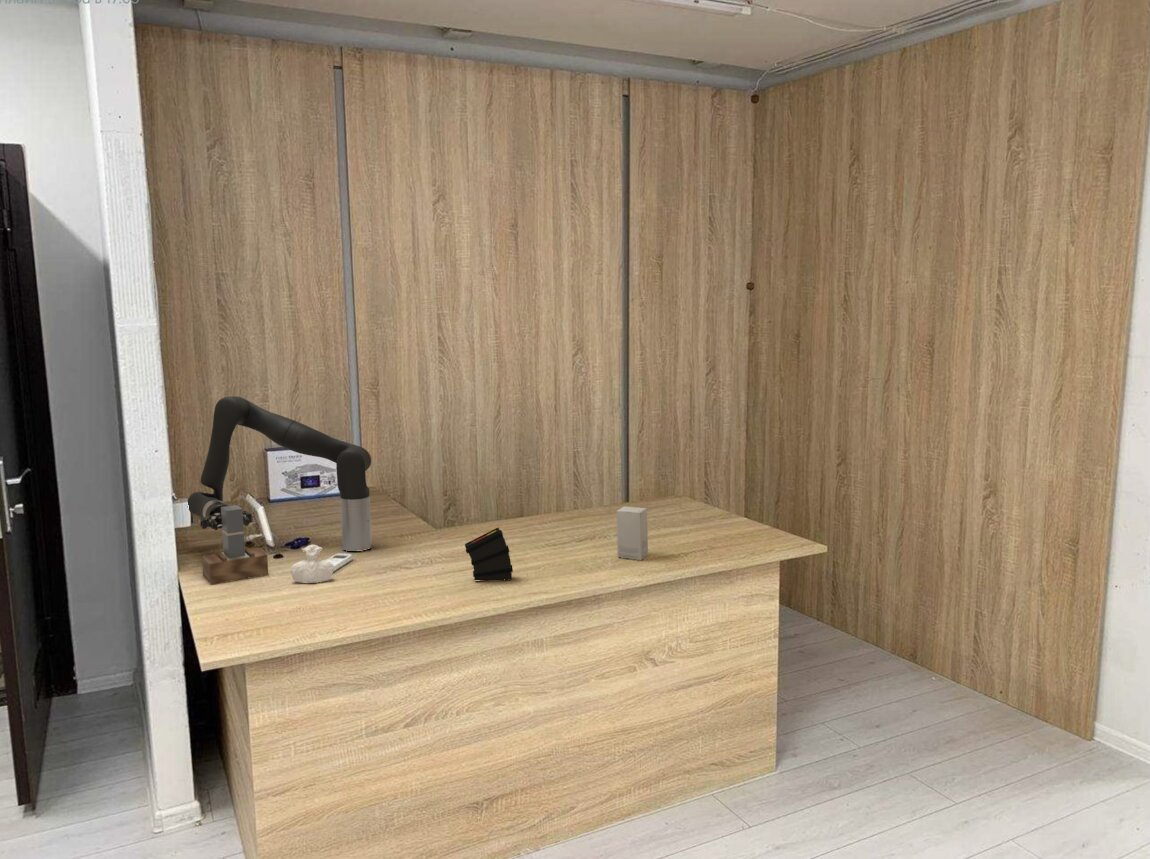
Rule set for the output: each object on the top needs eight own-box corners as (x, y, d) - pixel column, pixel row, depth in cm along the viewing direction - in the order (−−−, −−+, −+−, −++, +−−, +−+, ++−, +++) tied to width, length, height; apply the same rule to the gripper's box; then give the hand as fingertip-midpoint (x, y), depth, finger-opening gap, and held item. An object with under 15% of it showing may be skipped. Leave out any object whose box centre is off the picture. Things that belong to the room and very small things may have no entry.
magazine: (523, 574, 253) (500, 529, 250) (482, 595, 253) (458, 550, 250) (522, 570, 257) (499, 526, 254) (481, 591, 256) (458, 547, 253)
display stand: (258, 566, 267) (257, 544, 266) (268, 574, 259) (267, 551, 258) (203, 575, 258) (201, 552, 257) (210, 584, 250) (209, 560, 249)
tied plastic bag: (334, 586, 255) (335, 550, 260) (332, 577, 248) (333, 540, 254) (291, 589, 253) (293, 552, 258) (288, 579, 246) (290, 542, 252)
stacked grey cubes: (223, 553, 259) (220, 507, 257) (239, 551, 261) (236, 505, 259) (228, 558, 254) (226, 511, 252) (245, 555, 256) (242, 508, 254)
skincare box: (648, 556, 278) (649, 507, 275) (641, 561, 272) (641, 512, 270) (623, 553, 281) (624, 505, 279) (615, 558, 275) (616, 509, 273)
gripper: (192, 504, 266) (205, 515, 253) (241, 498, 274) (256, 508, 261) (194, 529, 267) (206, 540, 254) (242, 522, 275) (257, 533, 262)
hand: (231, 524), depth 257 cm, fingers open, 8 cm apart
